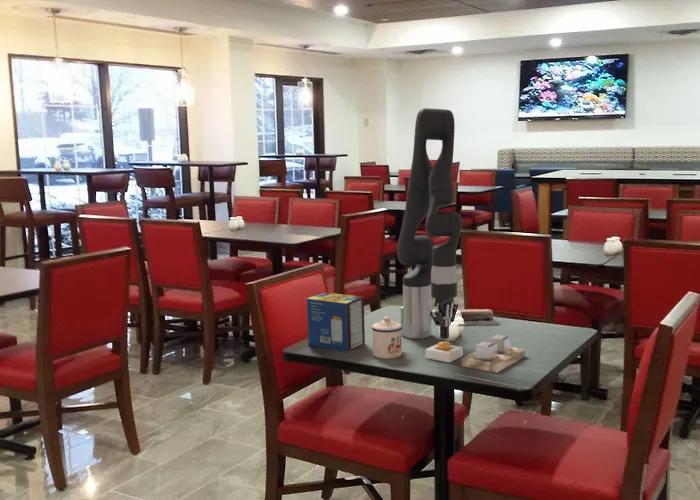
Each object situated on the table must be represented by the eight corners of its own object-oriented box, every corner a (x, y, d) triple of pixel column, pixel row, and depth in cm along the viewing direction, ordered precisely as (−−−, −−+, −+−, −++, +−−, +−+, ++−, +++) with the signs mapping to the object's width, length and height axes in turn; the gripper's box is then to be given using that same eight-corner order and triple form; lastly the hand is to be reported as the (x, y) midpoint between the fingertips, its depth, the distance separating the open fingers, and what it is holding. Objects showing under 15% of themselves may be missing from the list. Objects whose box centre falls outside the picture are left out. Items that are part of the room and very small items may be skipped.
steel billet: (475, 365, 203) (475, 344, 202) (482, 361, 207) (482, 340, 206) (489, 368, 201) (489, 346, 200) (496, 364, 204) (497, 343, 203)
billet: (490, 357, 210) (490, 337, 210) (497, 354, 214) (497, 333, 213) (504, 360, 208) (504, 339, 207) (510, 356, 211) (510, 336, 210)
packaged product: (446, 313, 250) (443, 306, 260) (446, 326, 251) (443, 320, 260) (498, 312, 249) (493, 306, 259) (498, 326, 250) (493, 319, 260)
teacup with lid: (391, 361, 211) (391, 322, 209) (366, 356, 216) (365, 318, 215) (413, 351, 221) (412, 314, 219) (388, 346, 226) (387, 310, 224)
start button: (435, 350, 212) (435, 343, 212) (441, 347, 215) (441, 340, 215) (446, 351, 210) (446, 345, 210) (452, 348, 213) (452, 342, 212)
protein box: (325, 337, 238) (324, 292, 236) (365, 343, 230) (364, 296, 228) (307, 345, 230) (305, 298, 227) (347, 352, 221) (346, 302, 219)
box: (425, 359, 212) (425, 349, 212) (439, 352, 218) (439, 343, 218) (449, 363, 207) (449, 353, 207) (462, 356, 213) (462, 347, 213)
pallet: (461, 367, 204) (461, 358, 203) (490, 351, 218) (490, 343, 217) (497, 373, 197) (497, 365, 197) (524, 357, 211) (524, 349, 211)
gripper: (444, 275, 217) (444, 331, 219) (421, 283, 206) (421, 341, 209) (466, 278, 212) (466, 335, 215) (443, 285, 202) (444, 345, 204)
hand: (444, 338), depth 212 cm, fingers closed
